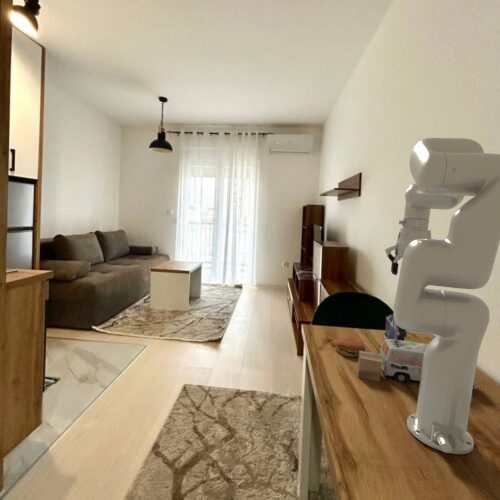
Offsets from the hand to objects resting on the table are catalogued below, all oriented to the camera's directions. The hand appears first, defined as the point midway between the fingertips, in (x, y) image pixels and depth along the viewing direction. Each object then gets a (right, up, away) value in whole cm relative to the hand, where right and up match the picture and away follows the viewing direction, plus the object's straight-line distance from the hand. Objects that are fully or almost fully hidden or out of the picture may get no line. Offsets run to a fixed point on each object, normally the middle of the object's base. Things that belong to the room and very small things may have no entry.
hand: (409, 275), depth 109 cm
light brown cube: (-18, -29, -12) cm, 36 cm away
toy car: (-1, -31, -11) cm, 33 cm away
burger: (-19, -28, +5) cm, 34 cm away
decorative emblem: (-2, -29, +8) cm, 30 cm away
